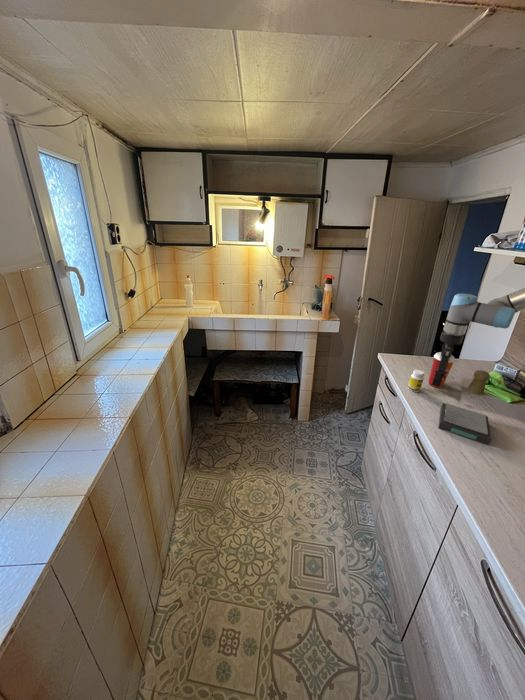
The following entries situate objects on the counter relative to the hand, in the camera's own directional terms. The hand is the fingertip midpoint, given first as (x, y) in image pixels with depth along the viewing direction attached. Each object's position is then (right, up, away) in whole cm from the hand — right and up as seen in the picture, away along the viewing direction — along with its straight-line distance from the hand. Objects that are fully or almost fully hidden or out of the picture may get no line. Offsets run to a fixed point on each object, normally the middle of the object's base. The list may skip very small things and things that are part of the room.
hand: (436, 381), depth 122 cm
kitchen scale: (-6, -12, -24) cm, 28 cm away
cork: (+12, -5, -6) cm, 14 cm away
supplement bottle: (-12, -3, -4) cm, 13 cm away
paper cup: (0, -1, +1) cm, 1 cm away
